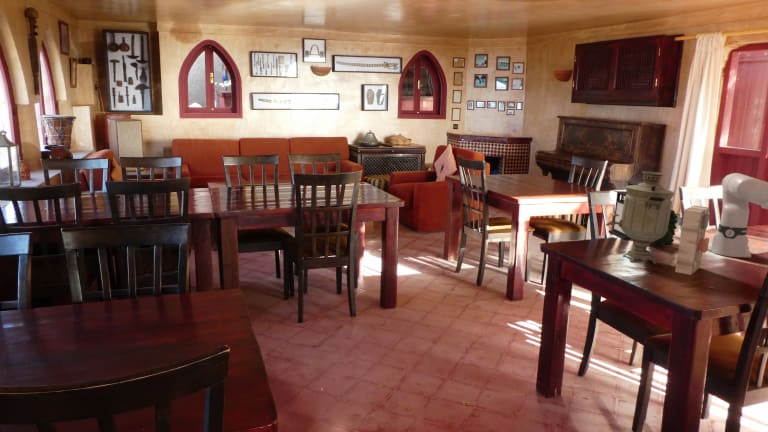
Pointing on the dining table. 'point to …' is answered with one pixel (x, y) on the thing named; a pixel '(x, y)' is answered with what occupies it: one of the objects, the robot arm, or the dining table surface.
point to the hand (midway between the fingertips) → (761, 205)
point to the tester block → (691, 240)
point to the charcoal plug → (704, 221)
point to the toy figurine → (668, 236)
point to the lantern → (620, 213)
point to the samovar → (645, 214)
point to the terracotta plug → (703, 245)
